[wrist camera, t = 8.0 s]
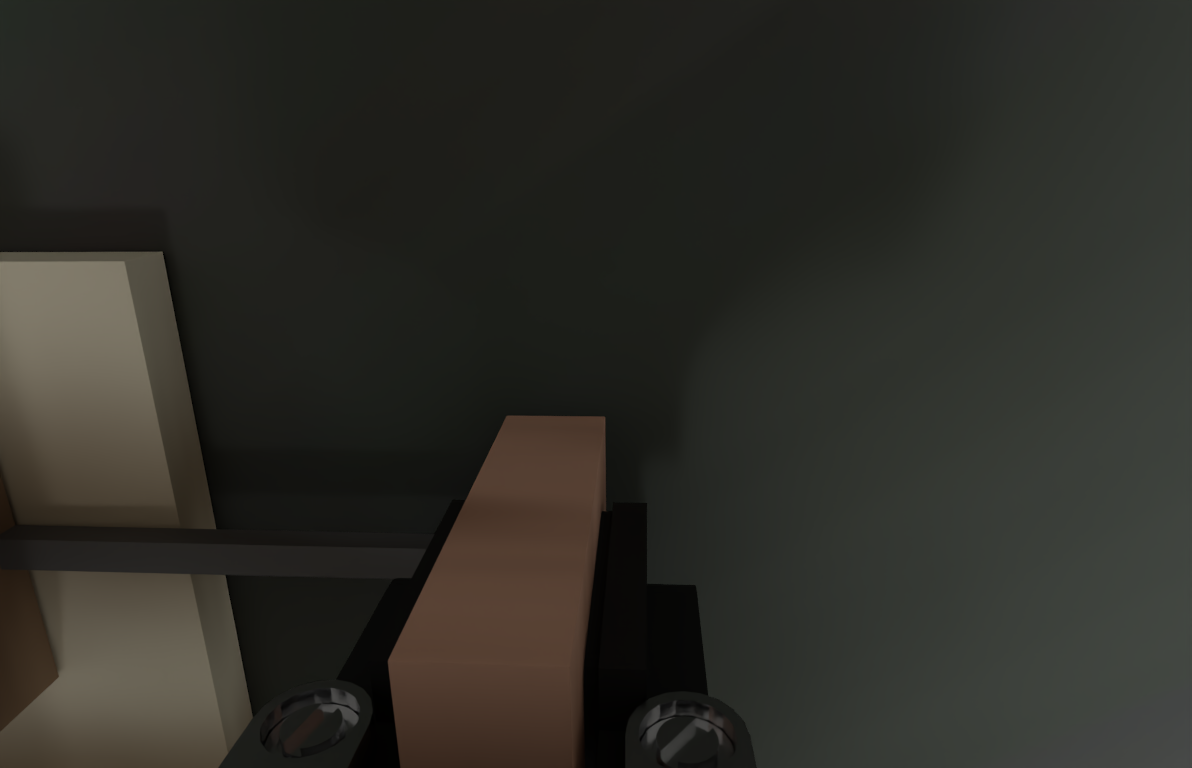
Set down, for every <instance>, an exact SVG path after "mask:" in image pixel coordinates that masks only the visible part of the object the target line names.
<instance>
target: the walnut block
mask: <svg viewBox="0 0 1192 768" xmlns="http://www.w3.org/2000/svg"><path fill="white" fill-rule="evenodd" d="M602 511H606V447H605V417H599V416H506V418H505V420H504V422H503V424H502V426H501V428H500V430H499V433H498V435H497V437H496V439H495V441H494V443H493V445H492V447H491V449H490V451H489V453H488V455H487V457H486V459H485V461H484V463H483V466H482V468H481V470H480V472H479V474H478V476H477V478H476V480H475V482H474V484H473V486H472V488H471V490H470V492H469V494H468V496H467V499H466V501H465V503H464V505H463V507H462V509H461V511H460V513H459V515H458V517H457V519H456V521H455V523H454V525H453V527H452V529H451V532H450V534H449V536H448V538H447V540H446V542H445V544H444V546H443V548H442V550H441V552H440V554H439V556H438V558H437V560H436V562H435V564H434V567H433V569H432V571H431V573H430V575H429V577H428V579H427V581H426V583H425V585H424V587H423V589H422V591H421V593H420V595H419V597H418V600H417V602H416V604H415V606H414V608H413V610H412V612H411V614H410V616H409V618H408V620H407V622H406V624H405V626H404V628H403V630H402V633H401V635H400V637H399V639H398V641H397V643H396V645H395V647H394V649H393V651H392V653H391V655H390V657H389V659H388V668H389V676H390V685H391V693H392V701H393V710H394V718H395V726H396V734H397V743H398V751H399V759H400V768H585V735H584V660H585V649H586V640H587V632H588V623H589V615H590V606H591V597H592V589H593V580H594V572H595V563H596V555H597V546H598V537H599V529H600V520H601V512H602ZM433 536H434V534H425V533H377V532H329V531H281V530H233V529H185V528H137V527H89V526H41V525H15V523H14V519H13V516H12V512H11V509H10V506H9V502H8V499H7V495H6V492H5V488H4V485H3V481H2V478H1V474H0V732H1V731H2V730H3V729H4V728H5V727H6V726H7V725H8V724H9V723H10V722H11V721H12V720H13V719H15V718H16V717H17V716H18V715H19V714H20V713H21V712H22V711H23V710H24V709H25V708H26V707H27V706H28V705H30V704H31V703H32V702H33V701H34V700H35V699H36V698H37V697H38V696H39V695H40V694H41V693H42V692H43V691H44V690H46V689H47V688H48V687H49V686H50V685H51V684H52V683H53V682H54V681H55V680H56V679H57V678H58V677H59V675H58V672H57V668H56V665H55V661H54V658H53V654H52V651H51V647H50V644H49V641H48V637H47V634H46V630H45V627H44V623H43V620H42V616H41V613H40V609H39V606H38V602H37V599H36V596H35V592H34V589H33V585H32V582H31V578H30V575H29V571H28V570H44V571H84V572H124V573H165V574H205V575H245V576H286V577H326V578H366V579H396V578H412V576H413V574H414V572H415V570H416V569H417V567H418V565H419V563H420V561H421V559H422V557H423V555H424V553H425V551H426V549H427V547H428V546H429V544H430V542H431V540H432V538H433Z"/></svg>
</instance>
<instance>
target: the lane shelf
mask: <svg viewBox="0 0 1192 768" xmlns="http://www.w3.org/2000/svg"><path fill="white" fill-rule="evenodd" d="M0 474H1V478H2V481H3V485H4V488H5V492H6V495H7V499H8V502H9V506H10V509H11V512H12V516H13V519H14V523H15V525H41V526H89V527H137V528H185V529H216V525H215V520H214V514H213V509H212V504H211V499H210V494H209V489H208V483H207V478H206V473H205V468H204V463H203V458H202V453H201V447H200V442H199V437H198V432H197V427H196V422H195V416H194V411H193V406H192V401H191V396H190V391H189V386H188V380H187V375H186V370H185V365H184V360H183V355H182V349H181V344H180V339H179V334H178V329H177V324H176V319H175V313H174V308H173V303H172V298H171V293H170V288H169V283H168V277H167V272H166V267H165V262H164V257H163V252H0ZM28 571H29V575H30V578H31V582H32V585H33V589H34V592H35V596H36V599H37V602H38V606H39V609H40V613H41V616H42V620H43V623H44V627H45V630H46V634H47V637H48V641H49V644H50V647H51V651H52V654H53V658H54V661H55V665H56V668H57V672H58V675H59V677H58V678H57V679H56V680H55V681H54V682H53V683H52V684H51V685H50V686H49V687H48V688H47V689H46V690H44V691H43V692H42V693H41V694H40V695H39V696H38V697H37V698H36V699H35V700H34V701H33V702H32V703H31V704H30V705H28V706H27V707H26V708H25V709H24V710H23V711H22V712H21V713H20V714H19V715H18V716H17V717H16V718H15V719H13V720H12V721H11V722H10V723H9V724H8V725H7V726H6V727H5V728H4V729H3V730H2V731H1V732H0V768H218V767H219V766H220V764H221V763H222V761H223V760H224V758H225V757H226V756H227V754H228V753H229V751H230V750H231V748H232V747H233V746H234V744H235V743H236V741H237V740H238V738H239V737H240V736H241V734H242V733H243V731H244V730H245V728H246V727H247V726H248V724H249V723H250V721H251V720H252V718H253V715H252V710H251V705H250V700H249V695H248V690H247V684H246V679H245V674H244V669H243V664H242V659H241V653H240V648H239V643H238V638H237V633H236V628H235V623H234V617H233V612H232V607H231V602H230V597H229V592H228V586H227V581H226V576H225V575H205V574H165V573H124V572H84V571H44V570H28Z"/></svg>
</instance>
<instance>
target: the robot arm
mask: <svg viewBox="0 0 1192 768" xmlns="http://www.w3.org/2000/svg"><path fill="white" fill-rule="evenodd" d="M465 501H466V500H452V502H451V503H450V505H449V507H448V509H447V511H446V513H445V515H444V517H443V519H442V521H441V523H440V524H439V526H438V528H437V530H436V532H435V534H434V536H433V538H432V540H431V542H430V544H429V546H428V547H427V549H426V551H425V553H424V555H423V557H422V559H421V561H420V563H419V565H418V567H417V569H416V570H415V572H414V574H413V576H412V578H396V579H394V580H393V581H392V582H391V584H390V585H389V587H388V588H387V590H386V592H385V594H384V595H383V597H382V599H381V601H380V603H379V604H378V606H377V608H376V610H375V611H374V613H373V615H372V617H371V619H370V620H369V622H368V624H367V626H366V628H365V629H364V631H363V633H362V635H361V636H360V638H359V640H358V642H357V644H356V645H355V647H354V649H353V651H352V652H351V654H350V656H349V658H348V660H347V661H346V663H345V665H344V667H343V668H342V670H341V672H340V674H339V676H338V677H337V679H336V680H319V681H314V682H310V683H306V684H302V685H298V686H296V687H294V688H292V689H290V690H287V691H285V692H283V693H281V694H279V695H278V696H277V697H275V698H274V699H272V700H271V701H269V702H268V703H267V704H265V705H264V706H263V707H262V708H261V709H260V711H259V712H258V713H257V714H256V715H255V716H254V717H253V718H252V720H251V721H250V723H249V724H248V726H247V727H246V728H245V730H244V731H243V733H242V734H241V736H240V737H239V738H238V740H237V741H236V743H235V744H234V746H233V747H232V748H231V750H230V751H229V753H228V754H227V756H226V757H225V758H224V760H223V761H222V763H221V764H220V766H219V767H218V768H400V759H399V751H398V743H397V734H396V726H395V718H394V710H393V701H392V693H391V685H390V676H389V668H388V659H389V657H390V655H391V653H392V651H393V649H394V647H395V645H396V643H397V641H398V639H399V637H400V635H401V633H402V630H403V628H404V626H405V624H406V622H407V620H408V618H409V616H410V614H411V612H412V610H413V608H414V606H415V604H416V602H417V600H418V597H419V595H420V593H421V591H422V589H423V587H424V585H425V583H426V581H427V579H428V577H429V575H430V573H431V571H432V569H433V567H434V564H435V562H436V560H437V558H438V556H439V554H440V552H441V550H442V548H443V546H444V544H445V542H446V540H447V538H448V536H449V534H450V532H451V529H452V527H453V525H454V523H455V521H456V519H457V517H458V515H459V513H460V511H461V509H462V507H463V505H464V503H465ZM584 735H585V768H757V767H756V762H755V757H754V752H753V747H752V742H751V737H750V734H749V732H748V729H747V727H746V724H745V722H744V721H743V720H742V718H741V717H740V716H739V715H738V714H737V713H736V712H735V711H734V709H732V708H731V707H729V706H728V705H726V704H725V703H723V702H721V701H720V700H718V699H715V698H713V697H710V696H708V691H707V682H706V672H705V663H704V654H703V644H702V635H701V626H700V617H699V607H698V598H697V590H696V586H695V585H664V584H647V503H613V511H602V512H601V520H600V529H599V537H598V546H597V555H596V563H595V572H594V580H593V589H592V597H591V606H590V615H589V623H588V632H587V640H586V649H585V660H584Z"/></svg>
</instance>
